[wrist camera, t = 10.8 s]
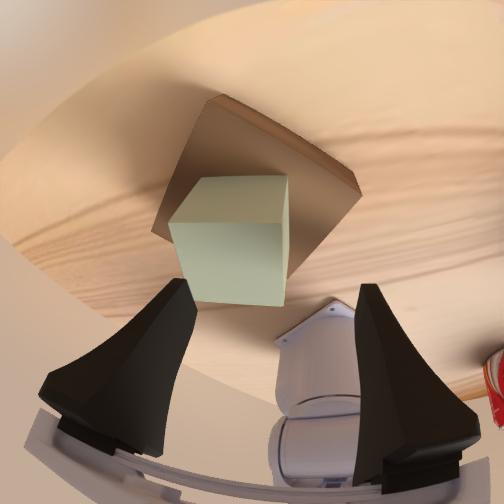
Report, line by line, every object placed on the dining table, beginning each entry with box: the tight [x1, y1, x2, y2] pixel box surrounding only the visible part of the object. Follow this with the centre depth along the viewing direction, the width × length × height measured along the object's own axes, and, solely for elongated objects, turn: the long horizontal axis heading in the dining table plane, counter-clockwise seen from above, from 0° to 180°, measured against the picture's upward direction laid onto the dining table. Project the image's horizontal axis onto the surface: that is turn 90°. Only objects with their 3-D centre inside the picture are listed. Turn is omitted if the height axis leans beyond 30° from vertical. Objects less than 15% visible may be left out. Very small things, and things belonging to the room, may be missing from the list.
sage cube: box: [168, 175, 289, 307], centre depth 15 cm, size 5×5×5 cm
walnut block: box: [151, 94, 363, 280], centre depth 19 cm, size 10×10×4 cm
